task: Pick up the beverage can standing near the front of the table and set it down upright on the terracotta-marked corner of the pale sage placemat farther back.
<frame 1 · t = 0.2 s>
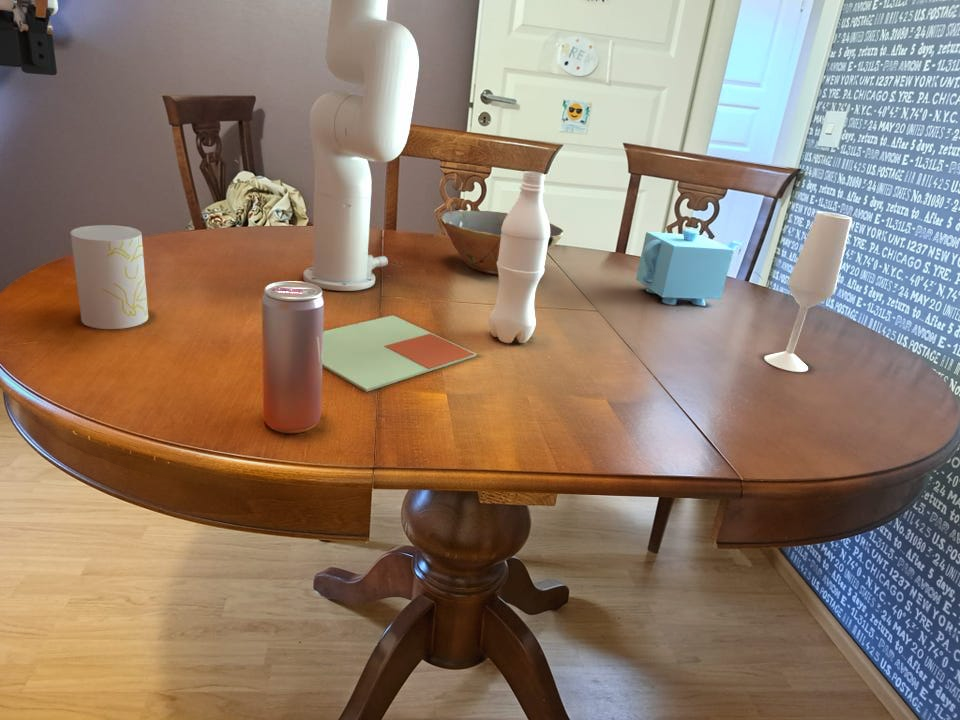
hand: (24, 69, 74), 31 cm above the table, tool pointing down, fingers open, 9 cm apart
placemat: (381, 349, 92), on the table
teapot: (682, 298, 136), on the table
champagne flute: (785, 364, 107), on the table
cup: (115, 319, 92), on the table
water bottle: (509, 338, 103), on the table
bowl: (495, 270, 138), on the table
beverage can: (292, 423, 72), on the table
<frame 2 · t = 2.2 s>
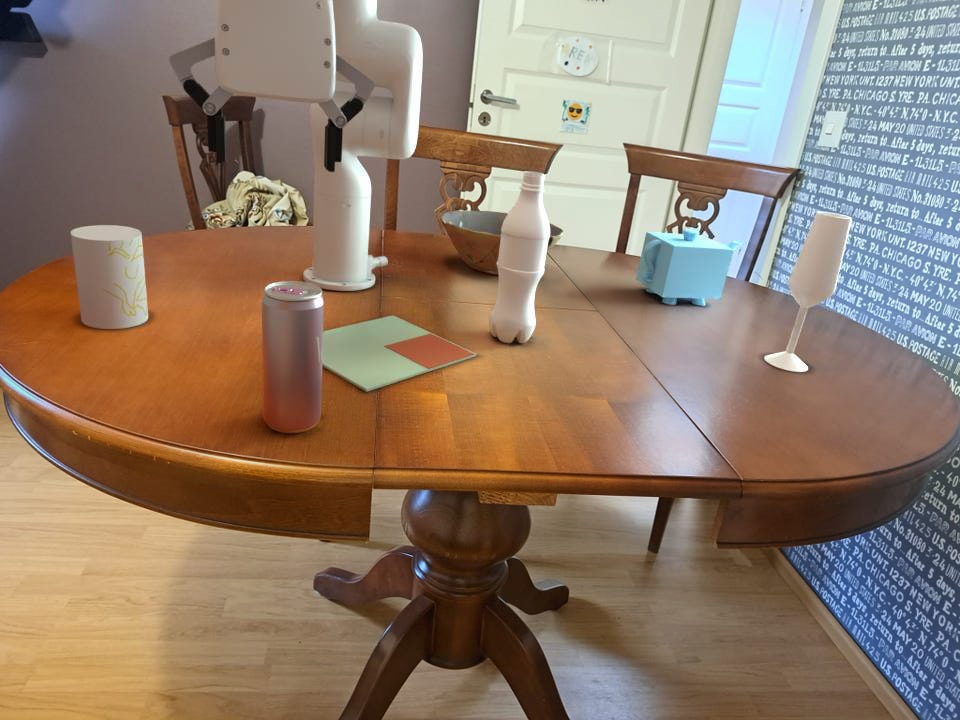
hand: (276, 165, 62), 27 cm above the table, tool pointing down, fingers open, 9 cm apart
nothing on the table moved.
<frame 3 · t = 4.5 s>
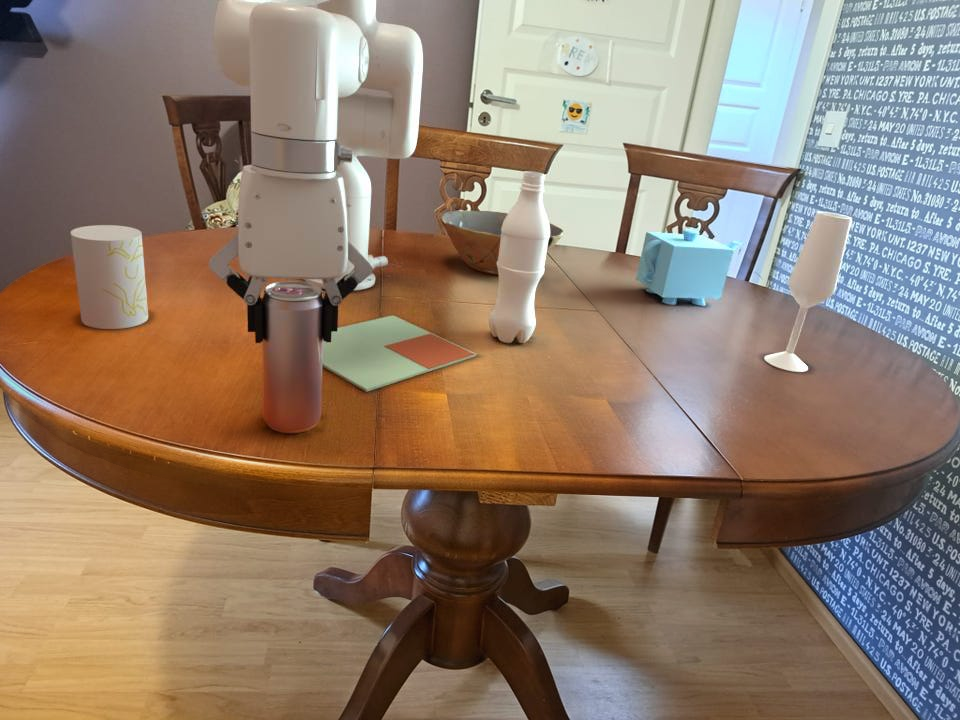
hand: (292, 336, 68), 10 cm above the table, tool pointing down, fingers closed on beverage can, 6 cm apart
beverage can: (292, 423, 72), on the table, touching gripper
everything else where it was.
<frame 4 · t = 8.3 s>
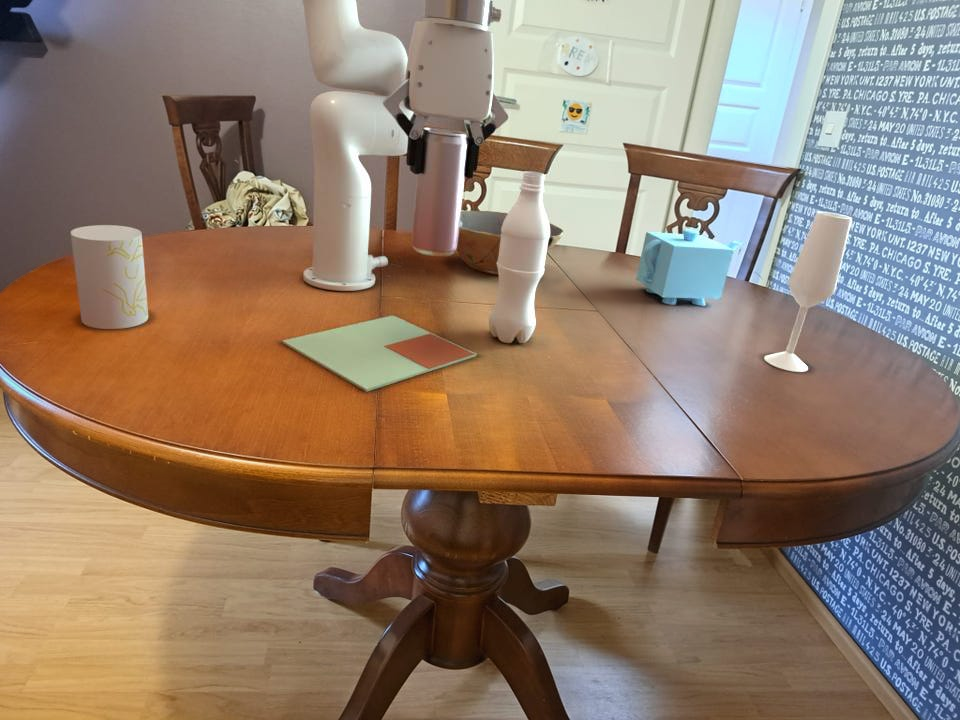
hand: (441, 173, 83), 25 cm above the table, tool pointing down, fingers closed on beverage can, 6 cm apart
beverage can: (433, 252, 87), point 15 cm above the table, touching gripper
everything else where it was.
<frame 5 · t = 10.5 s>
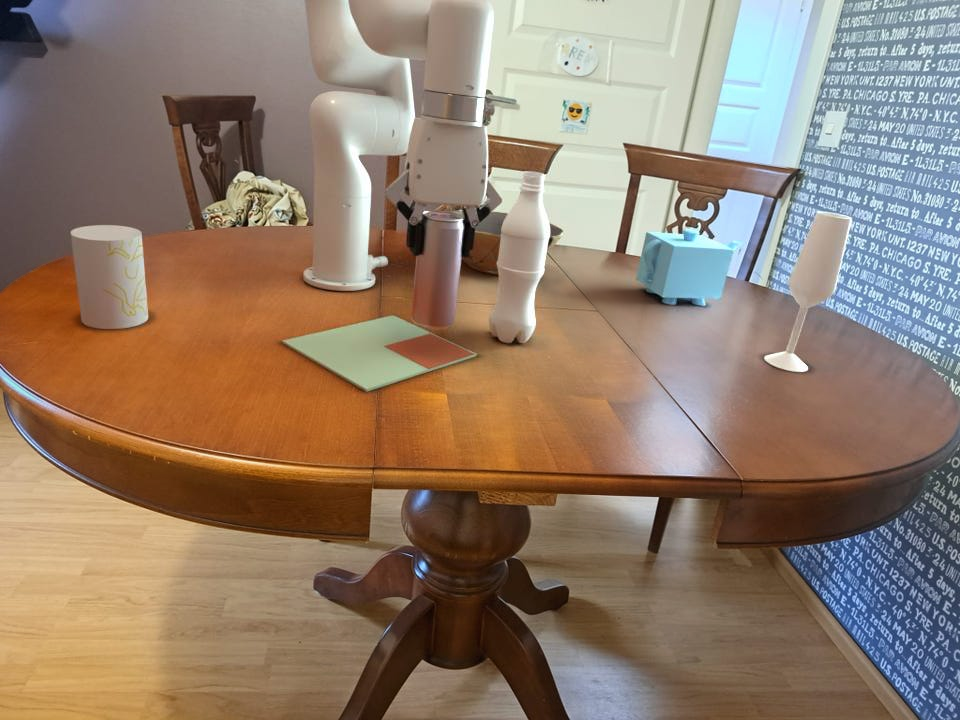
hand: (439, 252, 88), 15 cm above the table, tool pointing down, fingers closed on beverage can, 6 cm apart
beverage can: (432, 324, 92), point 4 cm above the table, touching gripper
everything else where it was.
when the fingers open (10 cm above the table, at t = 12.0 s): beverage can stays where it is, resting on placemat.
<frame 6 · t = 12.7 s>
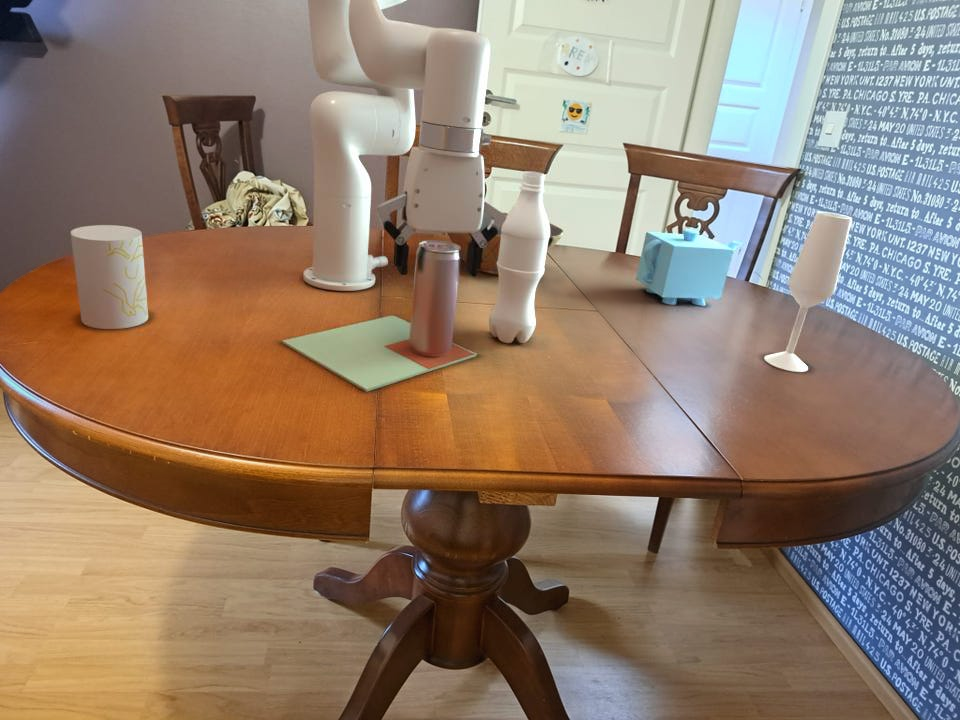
hand: (436, 272, 89), 12 cm above the table, tool pointing down, fingers open, 9 cm apart
beverage can: (429, 351, 93), resting on placemat
everything else where it was.
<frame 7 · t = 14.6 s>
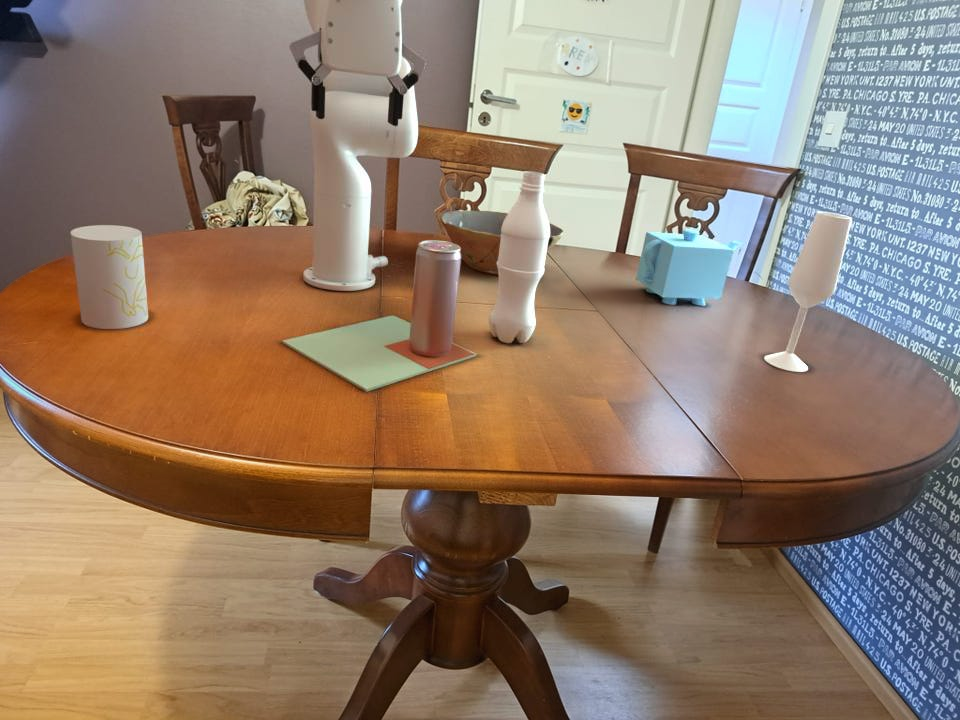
hand: (357, 121, 88), 29 cm above the table, tool pointing down, fingers open, 9 cm apart
nothing on the table moved.
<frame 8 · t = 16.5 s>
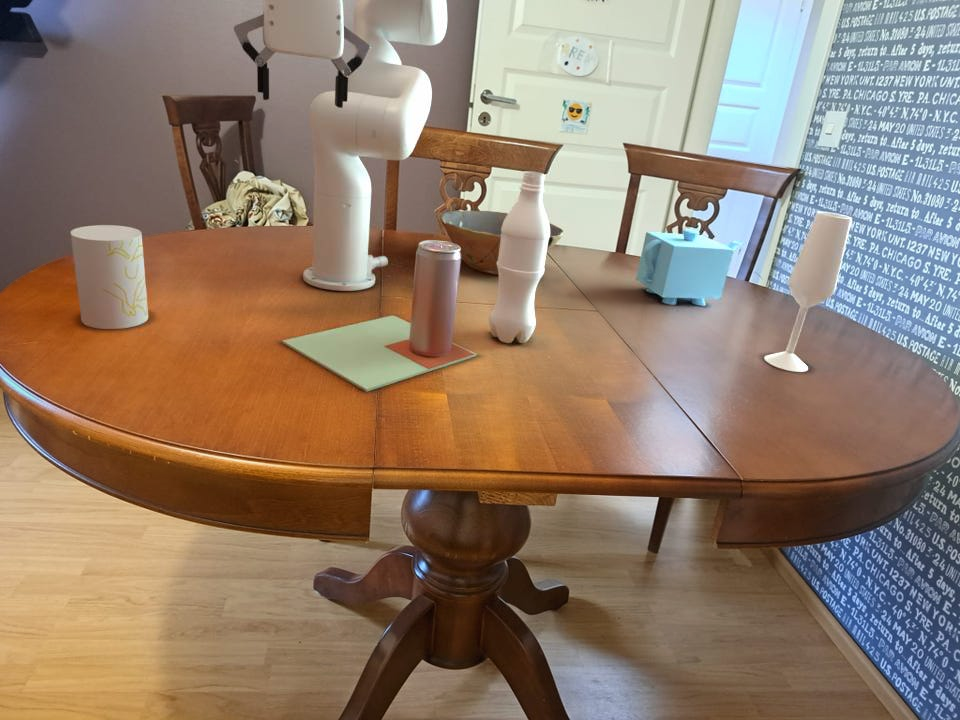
hand: (302, 103, 90), 30 cm above the table, tool pointing down, fingers open, 9 cm apart
nothing on the table moved.
at the end: beverage can 0.0 cm from the target spot on the placemat, point 0.3 cm above the placemat's base; beverage can tilted 0°; the gripper is holding nothing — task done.
